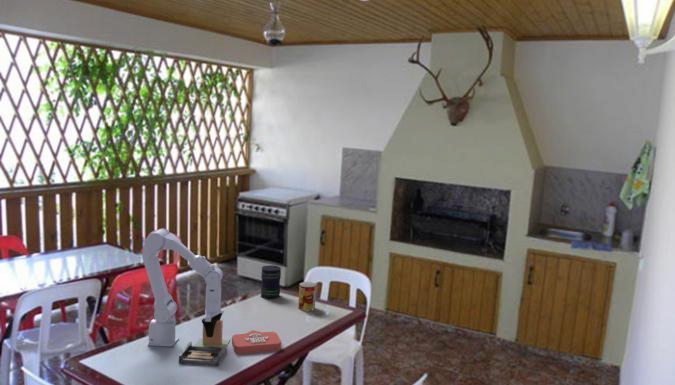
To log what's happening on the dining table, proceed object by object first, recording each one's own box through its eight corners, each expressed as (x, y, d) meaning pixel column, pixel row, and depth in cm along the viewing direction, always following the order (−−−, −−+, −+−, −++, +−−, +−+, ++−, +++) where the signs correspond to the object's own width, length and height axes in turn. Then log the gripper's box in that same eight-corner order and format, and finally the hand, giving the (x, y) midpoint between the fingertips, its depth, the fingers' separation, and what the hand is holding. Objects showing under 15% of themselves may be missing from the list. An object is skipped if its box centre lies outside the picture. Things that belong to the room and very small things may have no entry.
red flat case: (274, 327, 207) (282, 341, 193) (274, 336, 208) (281, 351, 193) (230, 330, 201) (235, 345, 187) (230, 339, 202) (235, 355, 188)
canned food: (297, 305, 245) (298, 281, 243) (313, 305, 246) (314, 281, 245) (299, 311, 237) (300, 286, 236) (315, 311, 238) (317, 286, 237)
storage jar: (268, 300, 250) (269, 271, 248) (256, 295, 256) (257, 267, 255) (283, 296, 257) (285, 268, 256) (271, 292, 264) (272, 264, 262)
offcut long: (186, 363, 179) (186, 357, 179) (188, 360, 181) (188, 354, 181) (211, 364, 179) (211, 359, 178) (213, 362, 181) (213, 356, 180)
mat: (193, 347, 192) (193, 346, 191) (199, 339, 199) (199, 338, 199) (224, 349, 191) (224, 348, 191) (229, 340, 199) (229, 340, 199)
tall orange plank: (202, 344, 194) (203, 321, 193) (204, 341, 197) (204, 319, 196) (220, 345, 194) (221, 322, 193) (222, 342, 197) (222, 320, 196)
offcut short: (190, 360, 181) (190, 354, 181) (192, 357, 183) (192, 352, 183) (209, 361, 181) (210, 355, 181) (211, 358, 183) (211, 353, 183)
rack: (178, 363, 178) (178, 355, 177) (189, 349, 190) (189, 341, 189) (218, 366, 177) (218, 357, 177) (226, 351, 189) (226, 344, 189)
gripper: (218, 306, 186) (217, 341, 188) (228, 293, 201) (227, 326, 202) (199, 304, 186) (199, 339, 188) (210, 292, 201) (209, 325, 202)
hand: (212, 333), depth 195 cm, fingers open, 7 cm apart
